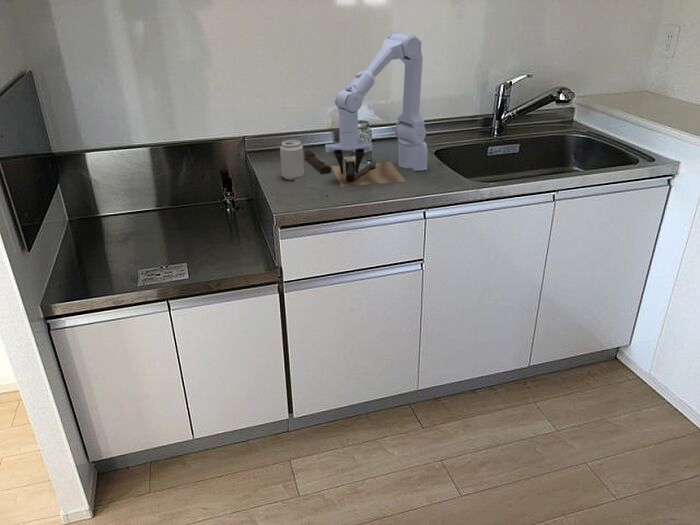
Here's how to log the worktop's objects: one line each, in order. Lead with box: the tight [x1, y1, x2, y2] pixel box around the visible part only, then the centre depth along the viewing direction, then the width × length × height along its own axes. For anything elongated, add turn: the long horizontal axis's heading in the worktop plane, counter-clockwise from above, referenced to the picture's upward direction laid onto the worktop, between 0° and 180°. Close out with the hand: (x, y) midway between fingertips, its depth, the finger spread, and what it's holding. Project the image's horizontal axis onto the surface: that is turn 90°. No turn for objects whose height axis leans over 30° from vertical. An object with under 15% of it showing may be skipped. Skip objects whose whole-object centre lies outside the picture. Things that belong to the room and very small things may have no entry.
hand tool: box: [304, 149, 332, 175], centre depth 200 cm, size 19×4×5 cm, turn 22°
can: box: [279, 139, 305, 181], centre depth 191 cm, size 8×8×12 cm
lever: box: [346, 157, 377, 181], centre depth 190 cm, size 18×4×6 cm, turn 153°
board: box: [330, 155, 407, 188], centre depth 192 cm, size 21×20×4 cm
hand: (349, 172), depth 185 cm, fingers open, 4 cm apart
